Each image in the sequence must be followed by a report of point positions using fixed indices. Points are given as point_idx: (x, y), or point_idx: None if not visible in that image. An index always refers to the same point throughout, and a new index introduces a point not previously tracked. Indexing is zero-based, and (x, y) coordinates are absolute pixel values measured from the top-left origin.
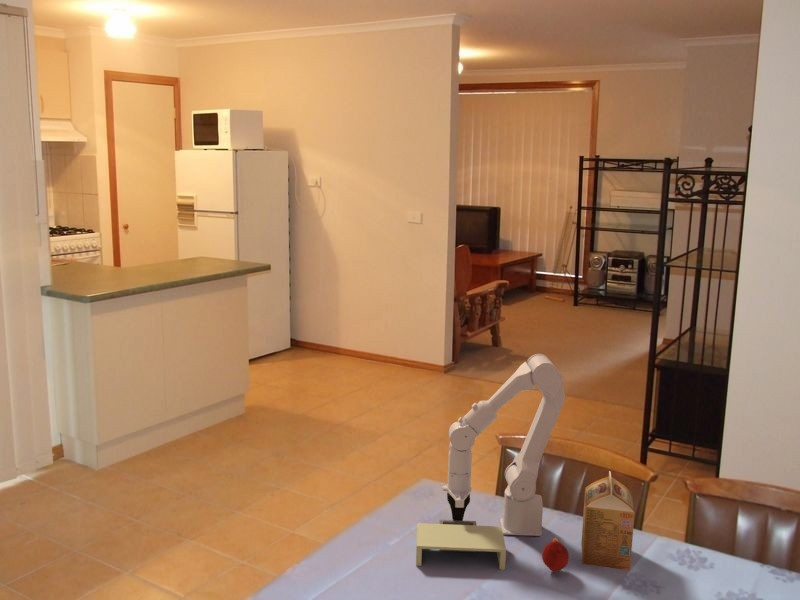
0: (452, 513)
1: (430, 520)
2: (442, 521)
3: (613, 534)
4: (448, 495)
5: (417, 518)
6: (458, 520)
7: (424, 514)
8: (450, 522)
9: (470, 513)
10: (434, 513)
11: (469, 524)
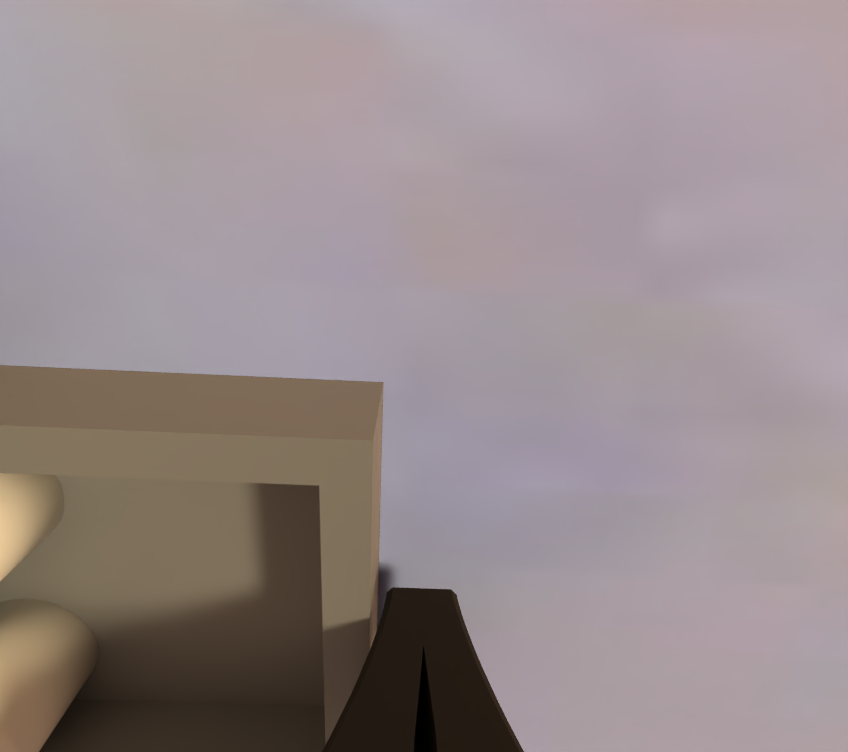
0: (344, 713)
1: (618, 277)
2: (311, 480)
3: None
4: None
5: (709, 62)
6: None
7: (826, 193)
8: (325, 574)
9: (735, 704)
10: (823, 343)
11: None
